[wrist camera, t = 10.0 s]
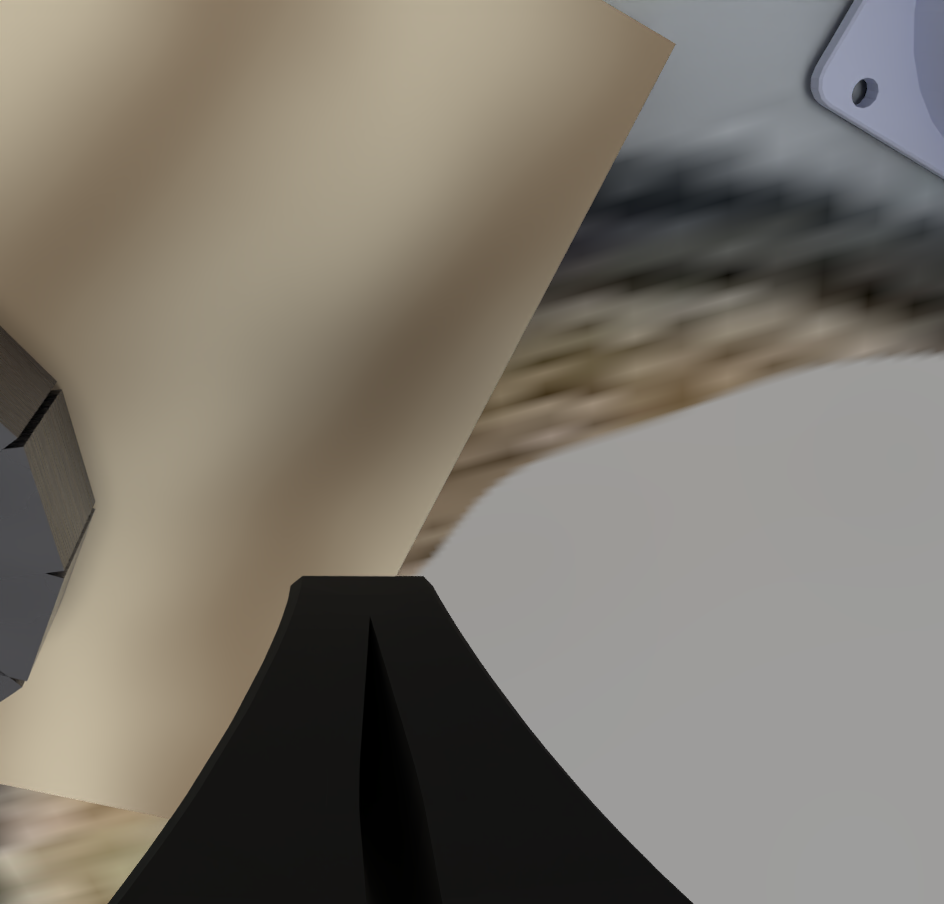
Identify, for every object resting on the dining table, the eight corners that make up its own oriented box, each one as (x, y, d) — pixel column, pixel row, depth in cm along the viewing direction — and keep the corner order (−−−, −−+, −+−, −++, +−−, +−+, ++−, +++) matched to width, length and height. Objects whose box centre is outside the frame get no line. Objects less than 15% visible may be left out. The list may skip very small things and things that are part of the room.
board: (652, 41, 16) (675, 43, 15) (261, 799, 23) (258, 837, 22) (-393, -576, 11) (-467, -636, 10) (-495, 632, 18) (-546, 671, 17)
